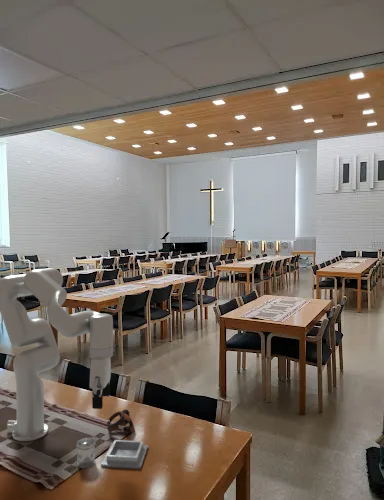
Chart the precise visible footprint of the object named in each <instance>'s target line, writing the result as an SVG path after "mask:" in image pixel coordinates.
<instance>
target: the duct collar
mask: <svg viewBox="0 0 384 500" xmlns="http://www.w3.org/2000/svg"><path fill="white" fill-rule="evenodd" d="M148 448H149V445H148V444H144V441H141V440H124V439H114V441H113V442H111V444H110V445H109V448H108V450H107V452H106V454H105V456H104V458H103V460H102V462H101V464H100V467H101V468H117V469H118V468H119V469H131V470H132V469H135V470H141V469H142V467H143V463H144V460H145V457H146V455H147V451H148Z"/></svg>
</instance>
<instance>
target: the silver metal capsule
mask: <svg viewBox="0 0 384 500" xmlns="http://www.w3.org/2000/svg"><path fill="white" fill-rule="evenodd" d="M95 446H96V440H95V438H92V437H84V438H83V437H82V438H80V439H79V440H77V441H76V466H77V467H78V468H80V469H89V468H91V467H93V466H94V465H95V463H96V462H95V461H96V460H95V459H96V455H95V451H96V447H95Z"/></svg>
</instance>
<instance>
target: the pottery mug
mask: <svg viewBox="0 0 384 500" xmlns="http://www.w3.org/2000/svg"><path fill="white" fill-rule="evenodd" d="M116 417H119V419H117V421H115V422H113V423H112V421H113V420H114V419H116ZM133 422H134V421H132V418H131V417H130V411H129V409H126V408H125V409H123V410H120V411H117V412H116V411H115V412H114V413H112V415H111V416H110V417H109V418H108V420H107V422H106V426H107V431H108V432H114V431H117V432H119V427H126V426H127V425H129V426H128V427H129V428H130V431H131V434H134V433H135V425H134V423H133Z"/></svg>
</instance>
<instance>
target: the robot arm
mask: <svg viewBox="0 0 384 500" xmlns="http://www.w3.org/2000/svg"><path fill="white" fill-rule="evenodd" d="M63 283H64V277H63V275H62V273H61V272H60V271H59V270H58V269H56V268H53V267H52V268H51V267H47V268H37V269H32V270H29V271H28V272H27V273H23V274H12V275H7V276H4V277H1V278H0V315H1V316H2V321H3V323H4V327H5V330H6V333H7V337H8V338H9V342H10V343H11V346H12V347H14V348H15V349H21V348H26V347H29V346H32V345H35V347H32V348H29V349H26V350H24V351H23V350H22V351H21V352H20V353H18V354H17V355H16V356H15V358H13V362H12V363H13V364H12V365H13V366H12V368H13V371H14V376H15V386H16V387H15V388H16V389H15V390H16V391H15V393H16V399H15V400H16V420H14V419H8V420H7V423H6V428H7V429H13V431H12V433H11V436H12V438H13V440H16V441H18V442H30V441H31V442H32V441H34V440H35V441H36V440H39V439H40V438H42V437H44V436H45V435H47V434H48V433H49V425H48V424H46V423H45V386H44V381H43V380H42V379H41V377H40V375H39V374H40V373H43V372H46V371H48V370H50V369H53V368H55V367H56V366H57V365H58V364H59V363H60V360H61V359H60V357H61V356H60V350H59V347H58V344H57V341H56V337H55V335H54V332H53V329H52V327H53V328H54V329H55V330H56V331H58V332H59V333H60V334H61V335H63V336H64V337H66V338H77V337H80V336H82V335H85V334H89V358H90V359H91V360H90V369H89V389H92V392H91V393H92V395H91V397H92V401H91V403H92V405H91V406H92V409H94V410H95V409H96V410H97V409H98V410H102V409H103V407H104V405H103V403H104V402H103V399H104V398H103V397H110V396H111V385H110V383H111V382H110V380H111V375H112V368H111V367H112V366H111V362H112V361H111V358H112V357H113V356H114V319H113V318H114V317H113V316H112V314H108V313H101V312H98V311H95V310H90V309H89V310H84V311H79V312H74V313H72V314H70V313H69V312H68V311H66V310H65V309H64V308H63V307H62V305H64V303H65V301H66V299H67V297H68V293H67V290H66V289H65V288H64V287H62V285H63ZM28 296H34V297H35V298H36V299H38V300H39V301H40V302H41V303H42V304H43V305H44V306H45V307H46V314H47V318H48V321H49V322H48V321H47V320H46V319H44V318H40V317H38V318H37V317H36V318H31V319H30V318H29V315H28V312H27V309H26V307H25V306H24V305H23V303H21V302H20V301H19V300H17V298H21V297H28ZM51 326H52V327H51Z"/></svg>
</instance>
